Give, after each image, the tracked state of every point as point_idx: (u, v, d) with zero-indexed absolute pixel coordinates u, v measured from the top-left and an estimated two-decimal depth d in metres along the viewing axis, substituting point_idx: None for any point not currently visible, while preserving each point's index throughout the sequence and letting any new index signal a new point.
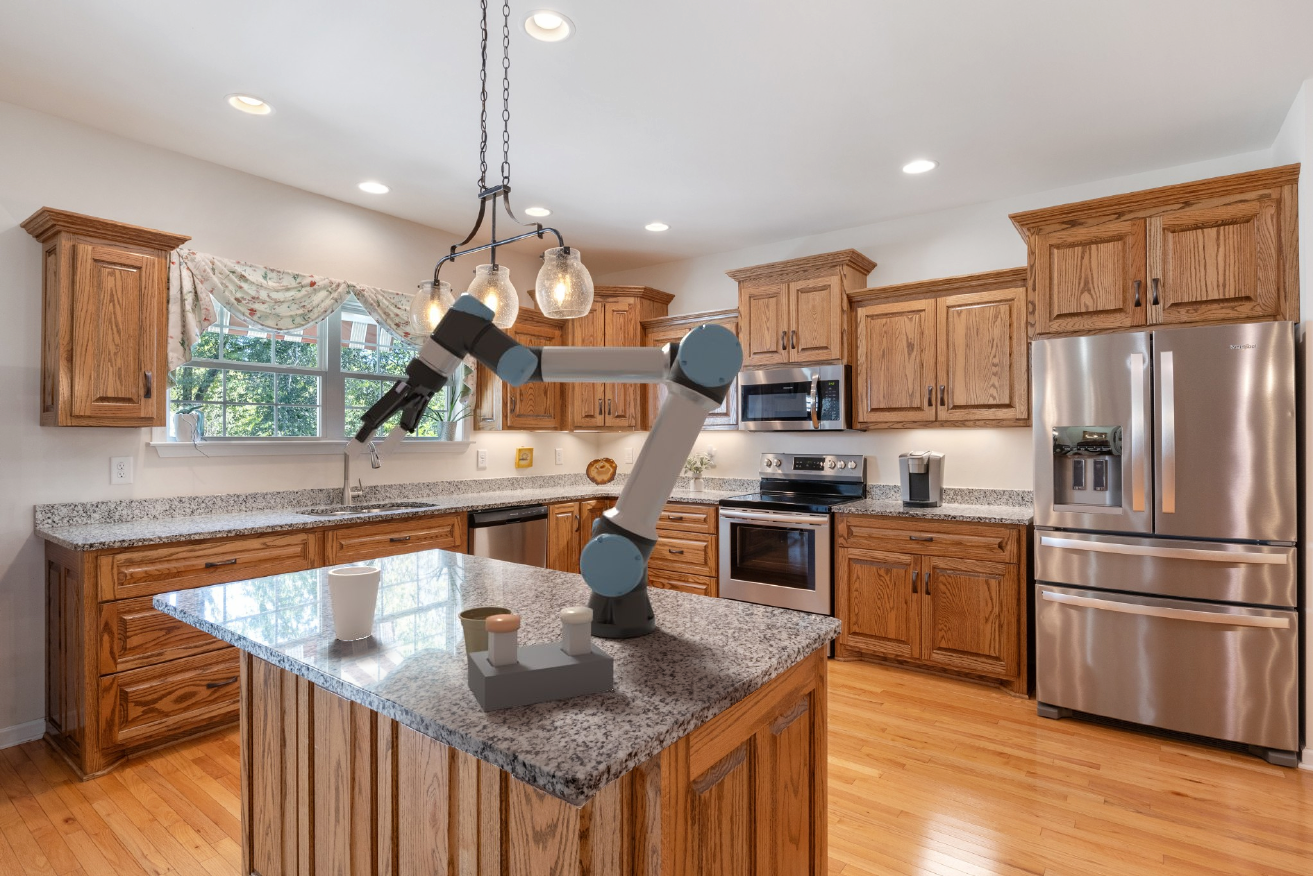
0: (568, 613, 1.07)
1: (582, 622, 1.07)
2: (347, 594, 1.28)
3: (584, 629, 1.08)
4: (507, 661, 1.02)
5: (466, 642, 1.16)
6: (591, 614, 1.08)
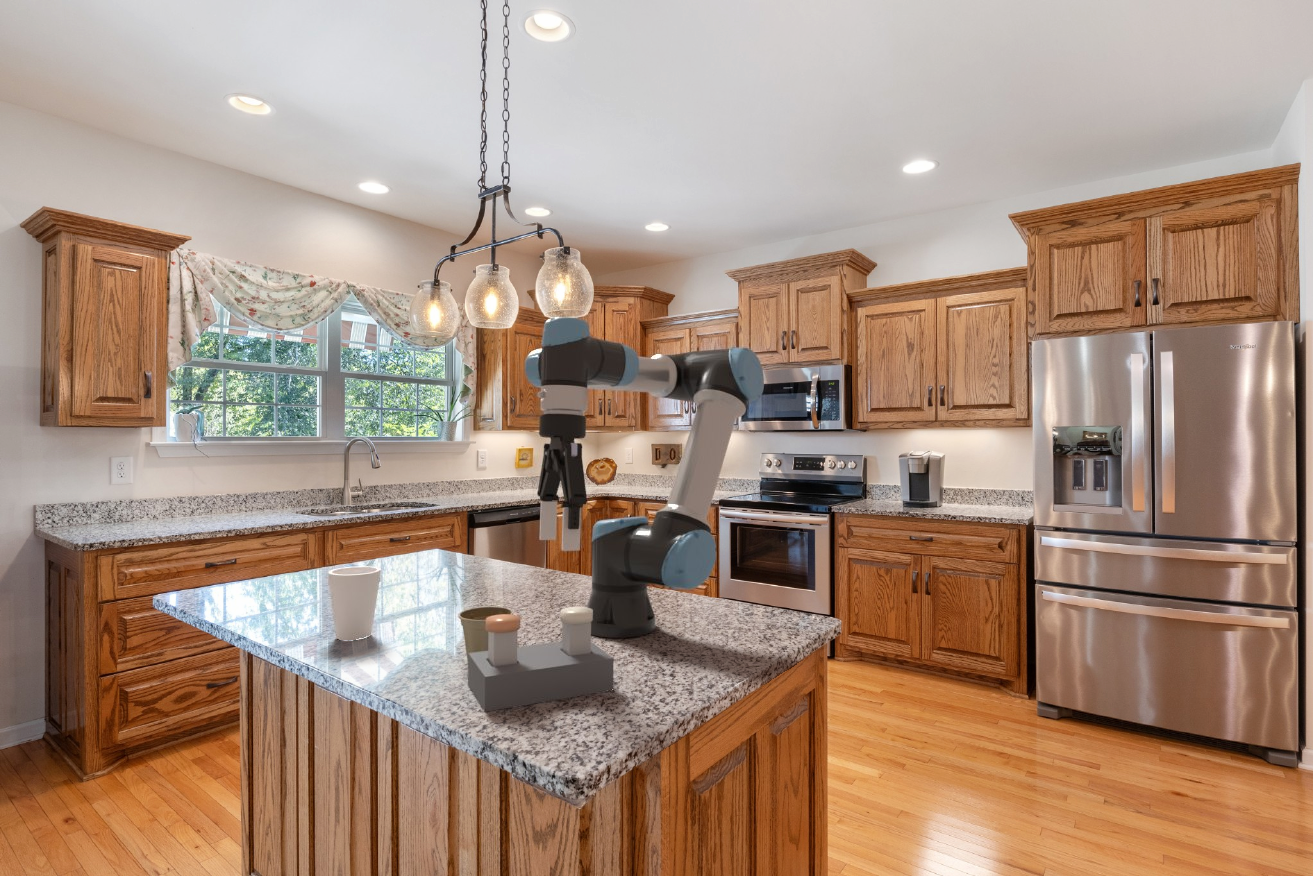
0: (568, 613, 1.07)
1: (582, 622, 1.07)
2: (347, 594, 1.28)
3: (584, 629, 1.08)
4: (507, 661, 1.02)
5: (466, 642, 1.16)
6: (591, 614, 1.08)
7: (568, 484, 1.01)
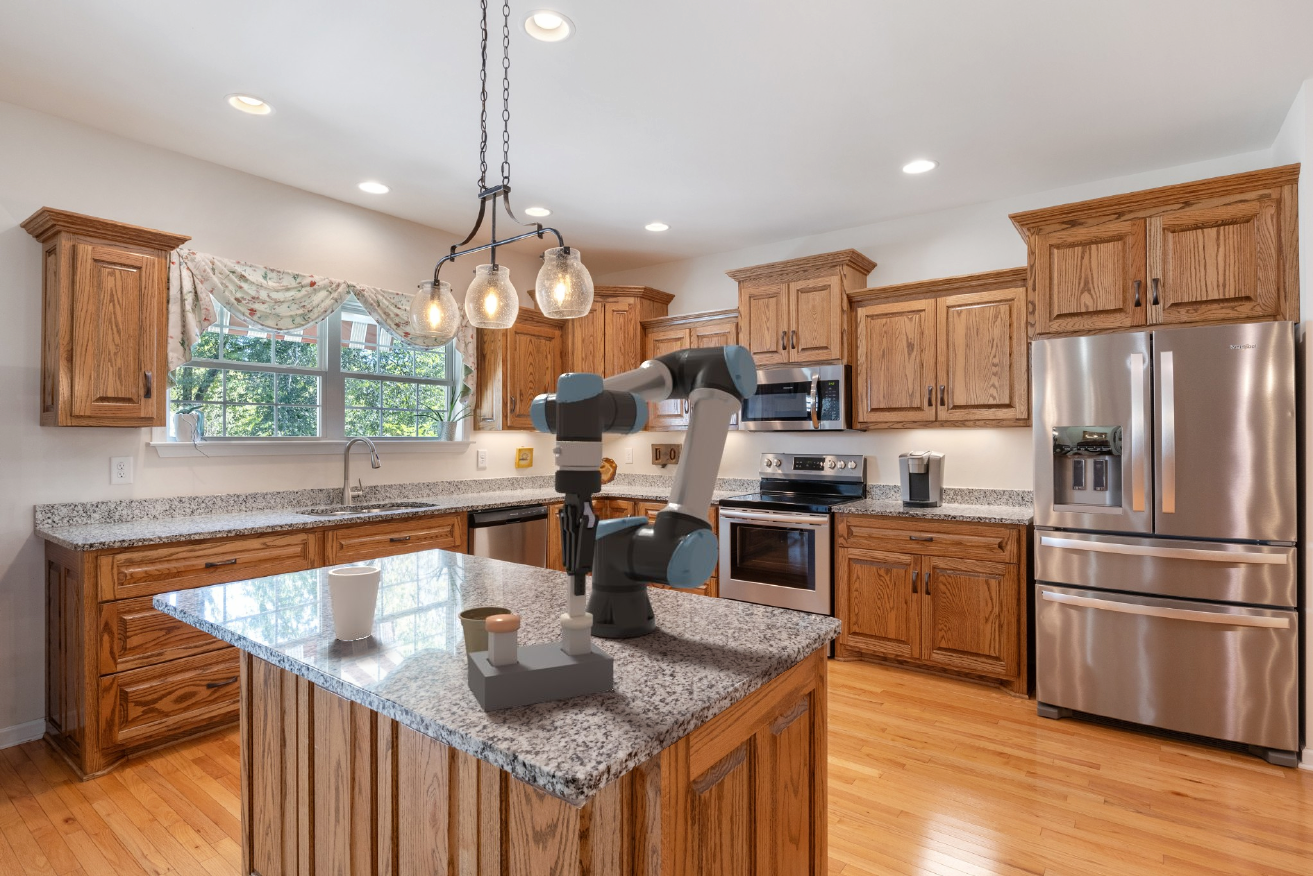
0: (568, 618, 1.07)
1: (582, 627, 1.07)
2: (347, 594, 1.28)
3: (584, 634, 1.08)
4: (507, 661, 1.02)
5: (466, 642, 1.16)
6: (591, 619, 1.08)
7: (578, 554, 1.05)
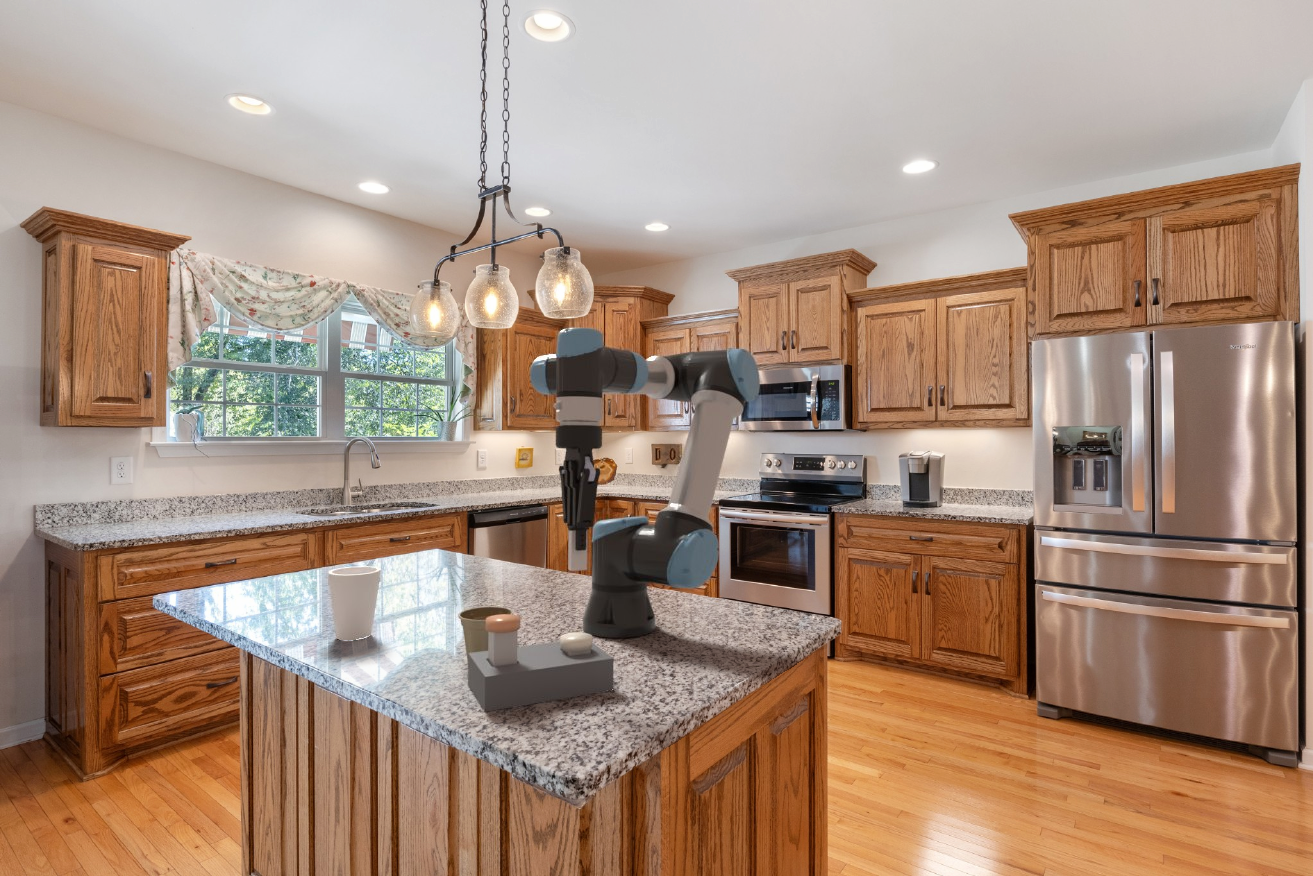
0: (568, 640, 1.07)
1: (582, 649, 1.07)
2: (347, 594, 1.28)
3: None
4: (507, 661, 1.02)
5: (466, 642, 1.16)
6: (591, 640, 1.08)
7: (579, 508, 1.06)
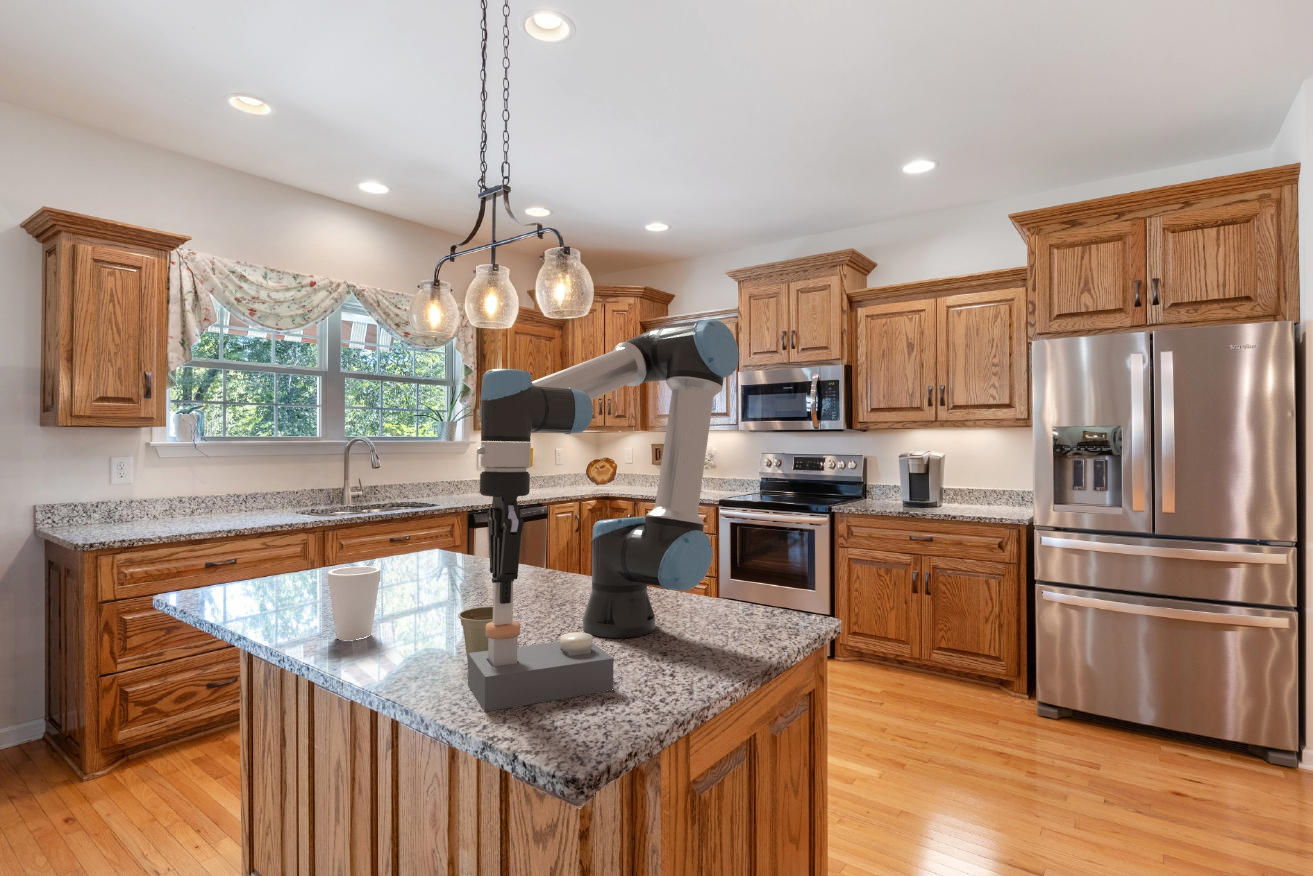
0: (568, 640, 1.07)
1: (582, 649, 1.07)
2: (347, 594, 1.28)
3: None
4: None
5: (466, 642, 1.16)
6: (591, 640, 1.08)
7: (501, 560, 1.00)
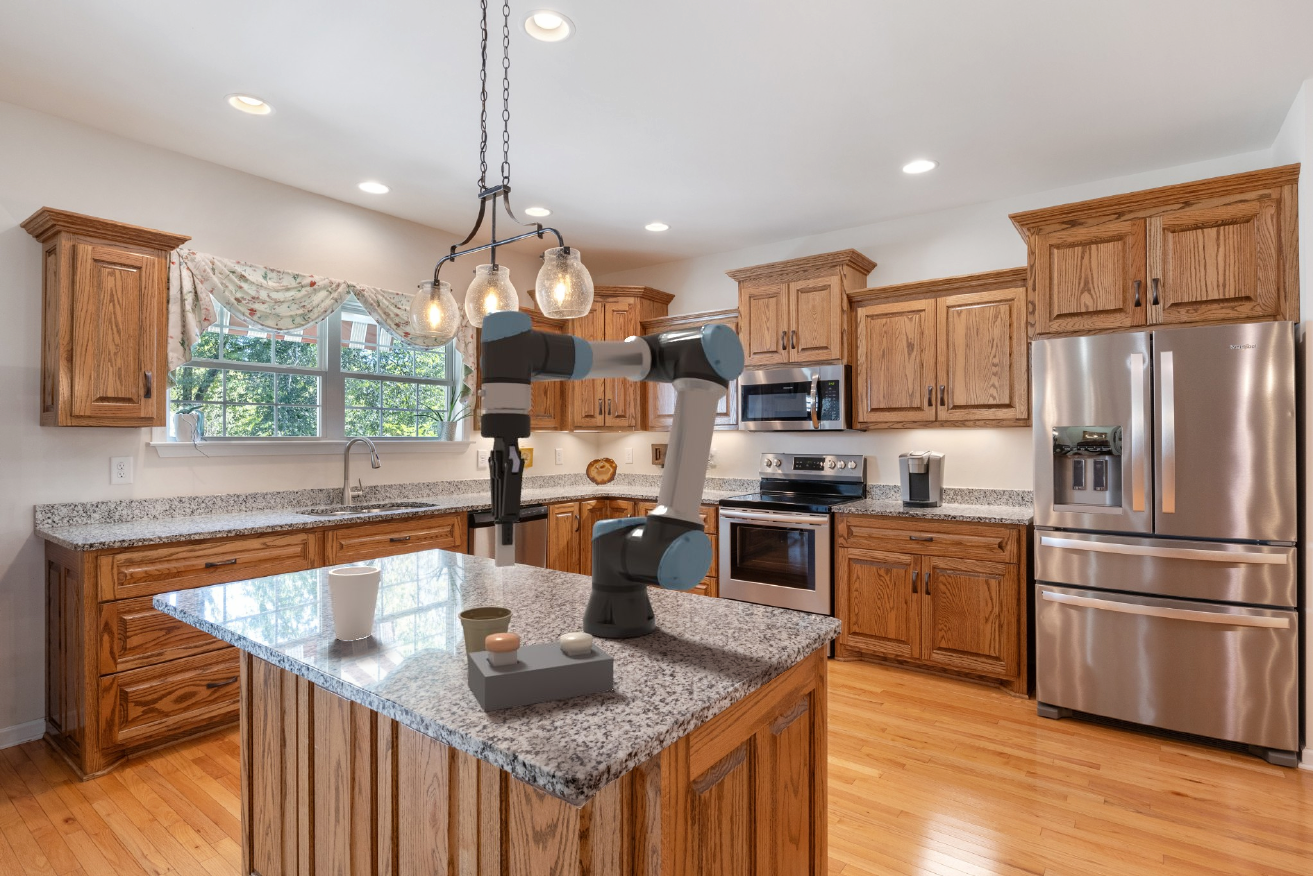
0: (568, 640, 1.07)
1: (582, 649, 1.07)
2: (347, 594, 1.28)
3: None
4: None
5: (466, 642, 1.16)
6: (591, 640, 1.08)
7: (503, 500, 1.00)
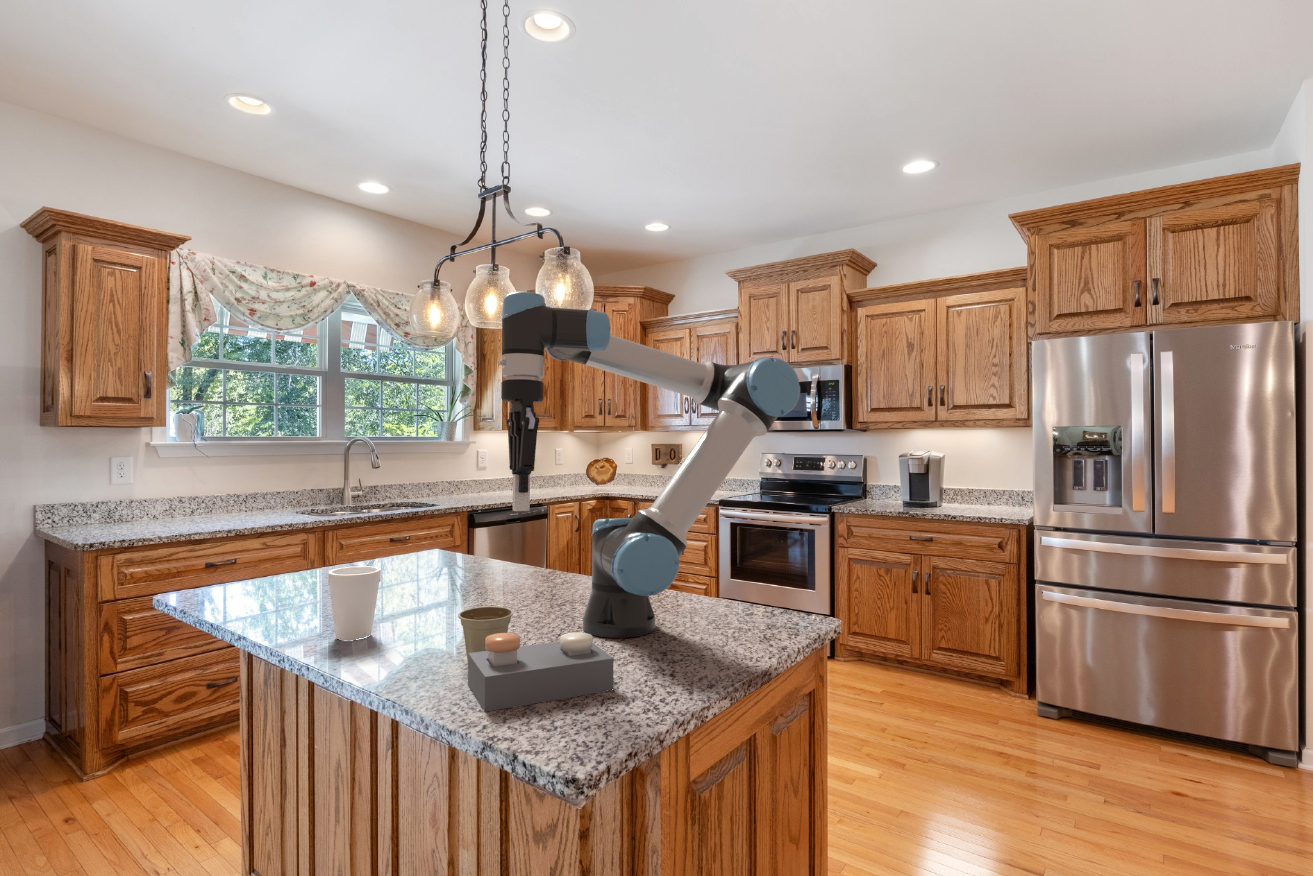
0: (568, 640, 1.07)
1: (582, 649, 1.07)
2: (347, 594, 1.28)
3: None
4: None
5: (466, 642, 1.16)
6: (591, 640, 1.08)
7: (520, 453, 1.18)
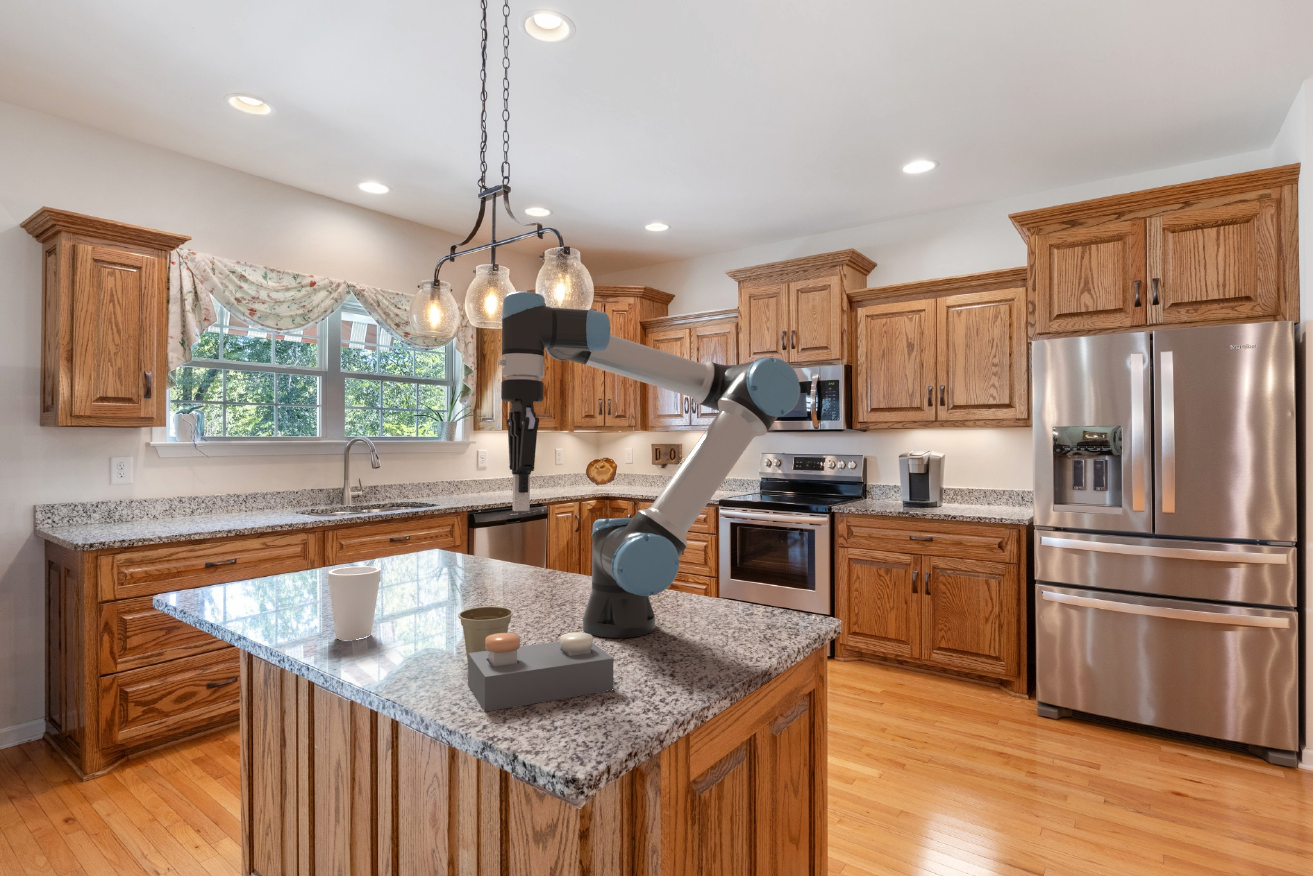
0: (568, 640, 1.07)
1: (582, 649, 1.07)
2: (347, 594, 1.28)
3: None
4: None
5: (466, 642, 1.16)
6: (591, 640, 1.08)
7: (520, 453, 1.18)
